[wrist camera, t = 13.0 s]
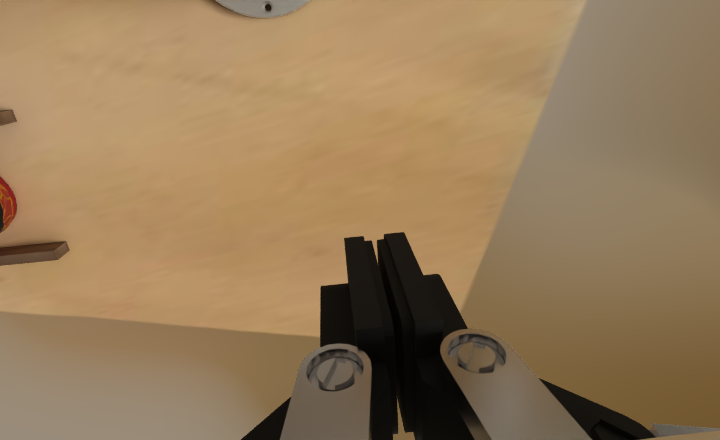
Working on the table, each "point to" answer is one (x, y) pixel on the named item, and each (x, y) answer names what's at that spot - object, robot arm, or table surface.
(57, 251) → the walnut frame
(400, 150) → the table surface
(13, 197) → the canned food
